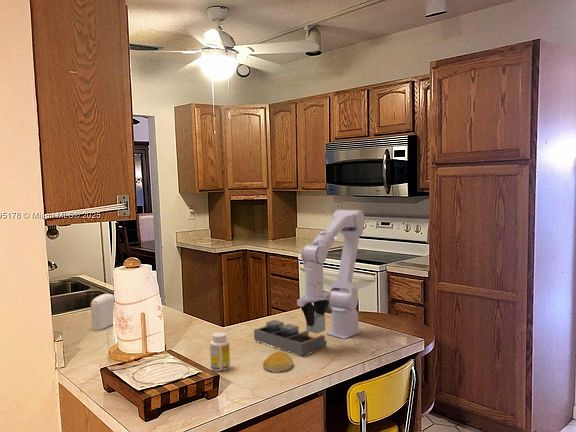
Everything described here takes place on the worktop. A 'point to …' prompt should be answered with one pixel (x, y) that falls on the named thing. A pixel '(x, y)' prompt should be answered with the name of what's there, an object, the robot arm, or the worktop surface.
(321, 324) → the grey block
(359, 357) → the worktop surface
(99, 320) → the photo printer
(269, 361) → the bread roll
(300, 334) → the rack
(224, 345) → the supplement bottle
